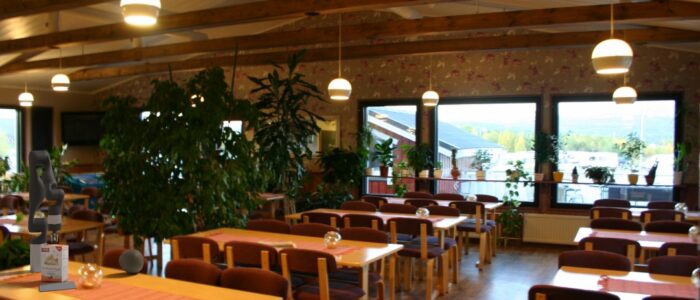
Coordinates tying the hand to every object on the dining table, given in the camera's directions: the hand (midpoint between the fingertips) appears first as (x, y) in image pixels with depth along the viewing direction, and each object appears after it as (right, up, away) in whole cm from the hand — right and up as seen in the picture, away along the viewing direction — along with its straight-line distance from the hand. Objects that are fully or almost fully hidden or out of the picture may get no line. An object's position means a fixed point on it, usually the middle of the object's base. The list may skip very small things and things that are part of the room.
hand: (54, 251), depth 355 cm
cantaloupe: (+40, -17, +15) cm, 46 cm away
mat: (+11, -17, -19) cm, 28 cm away
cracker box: (+4, -16, -8) cm, 18 cm away
